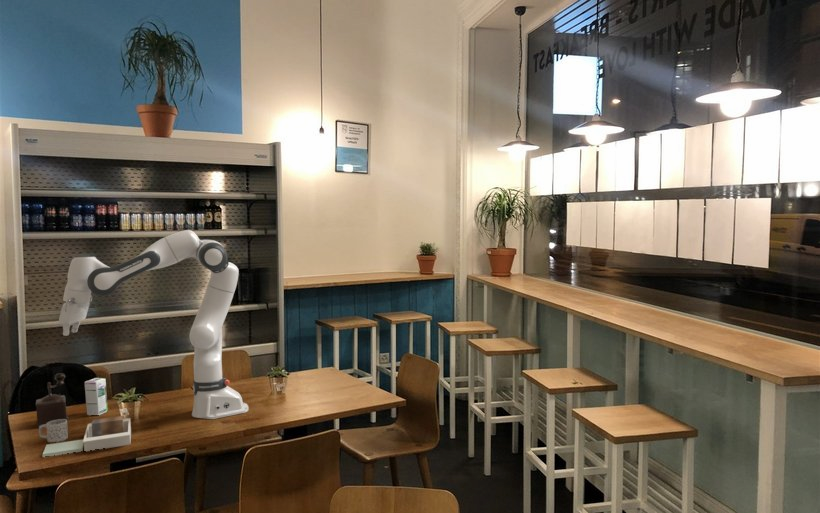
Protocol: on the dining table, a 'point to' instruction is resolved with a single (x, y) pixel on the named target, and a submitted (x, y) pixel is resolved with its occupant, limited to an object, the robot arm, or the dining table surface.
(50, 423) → the mug
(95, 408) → the syrup box
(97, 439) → the tray
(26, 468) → the dining table surface
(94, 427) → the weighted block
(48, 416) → the pepper mill
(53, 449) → the green board
